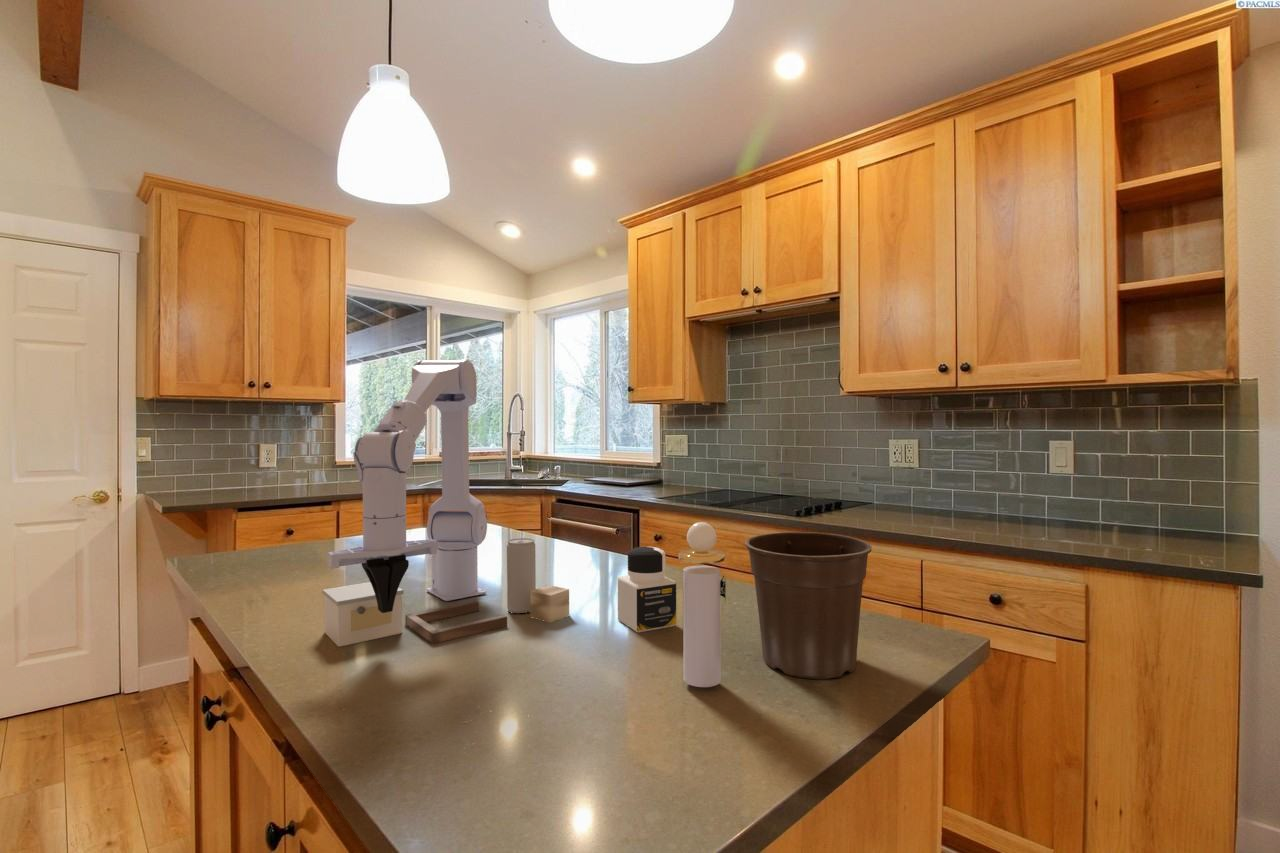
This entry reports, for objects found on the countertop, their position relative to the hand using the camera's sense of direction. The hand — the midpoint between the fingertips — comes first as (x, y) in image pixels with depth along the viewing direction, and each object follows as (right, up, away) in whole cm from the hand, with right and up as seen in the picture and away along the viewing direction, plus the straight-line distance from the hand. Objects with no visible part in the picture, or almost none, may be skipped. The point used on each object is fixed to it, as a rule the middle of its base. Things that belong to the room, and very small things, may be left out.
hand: (385, 610), depth 87 cm
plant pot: (+59, -6, -5) cm, 59 cm away
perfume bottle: (+44, -6, -13) cm, 46 cm away
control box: (-6, -5, +7) cm, 11 cm away
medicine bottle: (+37, -5, +11) cm, 39 cm away
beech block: (+21, -5, +14) cm, 26 cm away
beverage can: (+16, -5, +17) cm, 24 cm away
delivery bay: (+7, -5, +10) cm, 13 cm away
